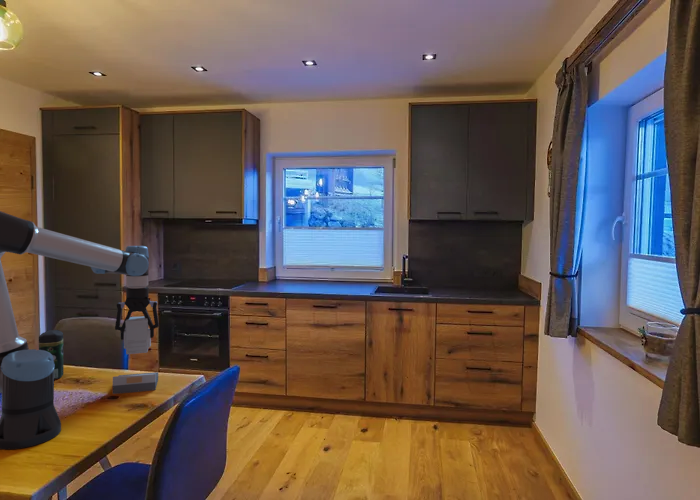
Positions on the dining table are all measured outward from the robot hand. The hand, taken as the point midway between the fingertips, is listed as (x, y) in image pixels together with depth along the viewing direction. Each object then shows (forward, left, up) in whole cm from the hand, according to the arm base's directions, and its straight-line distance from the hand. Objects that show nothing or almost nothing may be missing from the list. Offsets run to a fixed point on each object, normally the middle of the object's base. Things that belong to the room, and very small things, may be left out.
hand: (137, 347), depth 159 cm
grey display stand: (0, 0, -15) cm, 15 cm away
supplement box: (0, 0, -2) cm, 2 cm away
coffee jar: (+20, +33, -15) cm, 42 cm away
